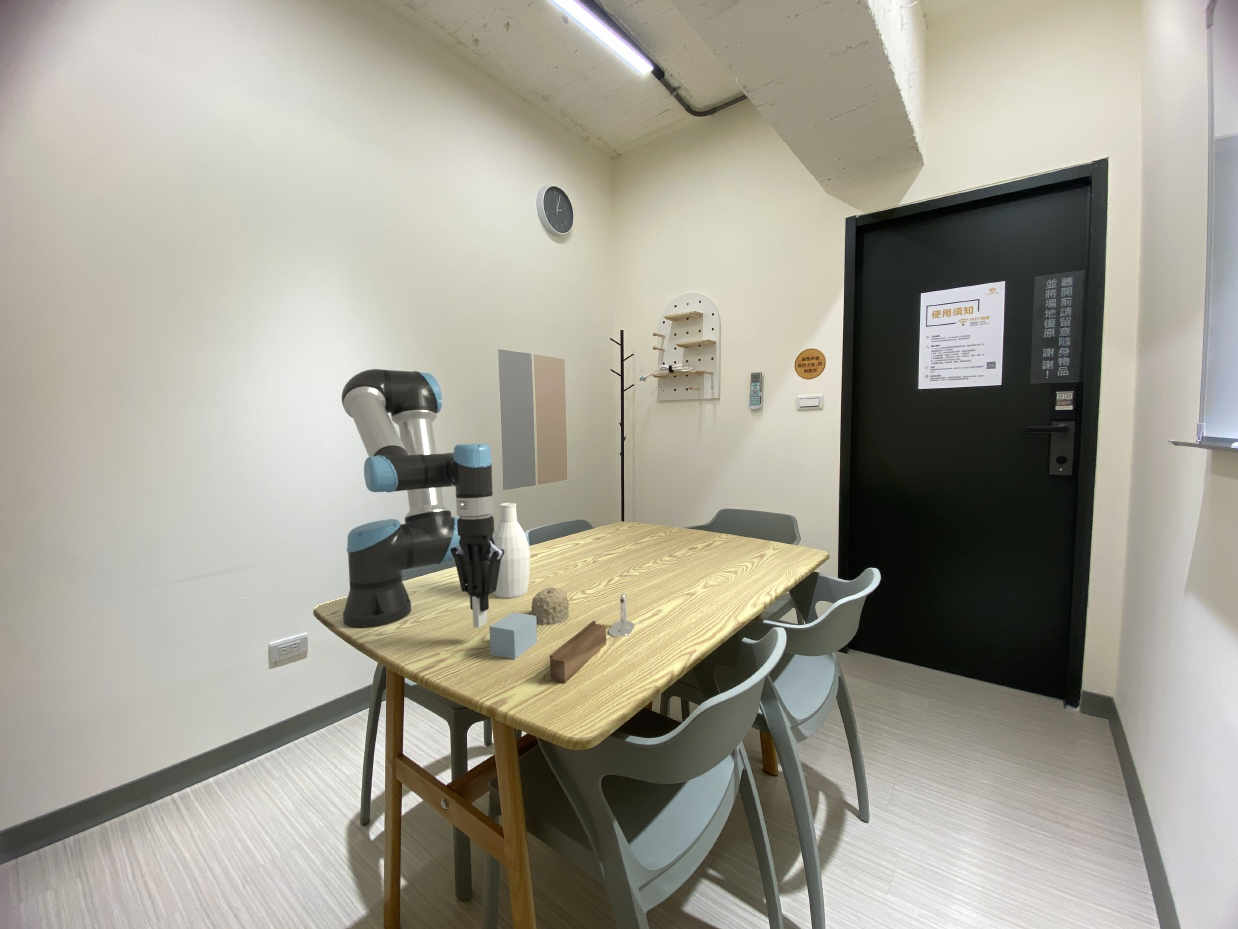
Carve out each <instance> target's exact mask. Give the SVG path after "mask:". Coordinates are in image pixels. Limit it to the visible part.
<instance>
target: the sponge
mask: <svg viewBox="0 0 1238 929" xmlns="http://www.w3.org/2000/svg"><path fill="white" fill-rule="evenodd" d="M531 600H532V601H531V611H530V612H531V614H530V615H534V616H536V624H537V625H540V626H549V625H558V624H562V623H564V622H565V621H566V620H567V619H569V617H570V616H569V614H570V611H569V608H570V605H569V604H570V602H569V599H568V595H567V592H565V590H564V589H562V588H560V587H559V588H558V587H554V586H553V587H546V588H544V589H542V590H540V591H538V592H537V593H536V594H535V596H534V597H533V598H532V599H531Z"/></svg>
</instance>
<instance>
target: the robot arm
mask: <svg viewBox="0 0 1238 929" xmlns="http://www.w3.org/2000/svg"><path fill="white" fill-rule="evenodd" d="M442 400H443V397H442V389H441V386H440V384H439V381H438V380H437V379H436V377H435V376H434V375H432V374H431V373H429V372H420V371H418V370H414V371H413V370H411V371H408V370H407V371H406V370H395V369H393V370H392V369H379V368H371V369H366V370H363V371H360V372H358V373H357V374H355V375H353V376H352V377H351V378H350V379H349V380H348V381H347V382H346V384H345V385H344V386H343V389H342V392H341V403H342V407H343V409H344V411H345V413H346V414H347V415H348V416H349V417H350V418H352V420H353V421H354V423H355V424H354V425H355V426H356V429H357V431H358V434H359V436H360V439H361V441H362V444H363V446H364V448H365V451H366V453H367V455H368V457H367V458H366V459H365V461H364V465H363V473H364V474H363V476H364V480H365V481H364V482H365V486H366V488H367V490H368V491H370V492H371V493H384V492H385V493H394V492H403V491H407V499H408V506H409V507H408V508H409V511H408V513H407V514H406V515H405V516H404V522H405V523H402V524H401V522H400V521H399V519H395V518H388V519H380V520H376V521H372V522H366V523H364V524H360V525H357V526H356V527H354V528H353V529H351V530H350V531H349V533H348V534H347V541H346V542H347V547H346V552H347V558H348V559H347V560H348V561H347V562H348V576H349V580H348V581H349V592H348V595H347V599H346V603H345V607H344V610H343V613H342V618H343V620H342V621H343V624H344V625H345V626H347V627H351V628H371V627H378V626H384V625H387V624H391V623H395V622H397V621H399V620H401V619H404V618H405V617H407V616H409V615H410V613H411V611H412V602H411V599H410V597H409V594H408V591H407V590H406V587H405V584H404V582H403V571H405V570H410V569H415V568H421V567H427V566H433V565H441V564H443V563H447V562H451V561H453V560H454V563H455V567H456V572H457V576H458V577H457V578H458V579H459V584H460V585H459V586H460V588H461V592H462V593H467V594H468V596H469V606H470V610H471V611H472V623H473V624H472V625H473V628H481V627H483V626H485V625H487V624H488V612H487V611H488V610H489V609H490V605H489V604H490V603H489V600H490V599H489V595H490V594H493V593H494V592H495V591H496V588H497V582H498V575H499V569H500V563H501V559H502V557H503V555H504V553H505V551H504V550H503V549H500V550H499V549H498V548H497V547H496V546H495V542H494V540H493V535H494V533H495V518H494V516H493V515H492V514H494V509H495V508H494V497H493V494H494V493H493V472H492V471H493V468H492V466H493V465H492V464H493V459H492V455H491V447H490V446H489V444H487V443H467V444H461V443H459V444H455V446H454V447H453V452H445V453H437V448H436V442H435V434H434V428H433V422H434V421H435V420H436V419H437V417H438V416H437V414H439V413H440V412H441V410H442V406H443V402H442ZM389 414H390V415H389ZM390 416H391V418H390ZM394 424H395V425H397V426H398V430H399V431H398V432H399V434H398V432H397V430H396V427H395V425H394ZM446 487H447V488H449V487H455V500H456V505H455V506H456V516H457V517H458V518H457V517H455V516H452V512H451V509H449V508H448V507H447V506H445V504H444V503H445V502H444V499H443V498H444V497H443V491H442V488H446Z"/></svg>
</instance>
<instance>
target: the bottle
mask: <svg viewBox="0 0 1238 929" xmlns="http://www.w3.org/2000/svg"><path fill="white" fill-rule="evenodd" d="M499 507H500V522H499V523H498V525H497V527H496V529H495V530H494V533H493V540H494V542H495V546H496V547H497V548H498V549H499V550H500V549H503V550H504V551H505V553H504V555H503V557H502V559H501V563H500V569H499V575H498V582H497V588H496V591H495V592H493V593H494V596H496V597H497V598H500V599H514V598H515V599H516V598H520V597H522V596H524V595H526V593H527V592H528V590H529V584H530V583H529V580H530V574H531V573H530V572H531V570H530V569H531V565H530V564H531V561H530V560H531V552H530V547H529V541H528V539H527V537H526V534H525V531H524V530H523V528H522V526H521V525H520V523H519V522H518V517H517V515H518V514H517V503H516V502H504V503H500V504H499Z"/></svg>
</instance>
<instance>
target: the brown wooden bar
mask: <svg viewBox="0 0 1238 929" xmlns="http://www.w3.org/2000/svg"><path fill="white" fill-rule="evenodd" d="M606 645H607V625H606V624H599V623H596V620H592V621H591V622H590V623H588V624H587V625H586V626H585V627H583V628H582V629H581V630H579V631H578V632H577V633H576V634H575V635H574V636H572V637H571V638H569V640H567V641H566V642H565V643H564V644H562V645H561V646H560V647H558V648H557V649H556V650H555V651H554V652H552V653H551V654H549V664H550V666H549V668H550V671H549V672H550V673H549V674H550V680H551V681H554V682H558V683H561V684H566V683H567V682H568V681H569V680H571V679H572V677H574V676H575V675H576V673H577V672H579V671H580V669H582V668H583V667H584V666H585V665H586V664H587V663H588V662H589V661H591V659H592V658H593V657H594V656H595V655H596V654H598V653H599V651H600V650H601V649H603V648H604V647H605V646H606Z"/></svg>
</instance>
